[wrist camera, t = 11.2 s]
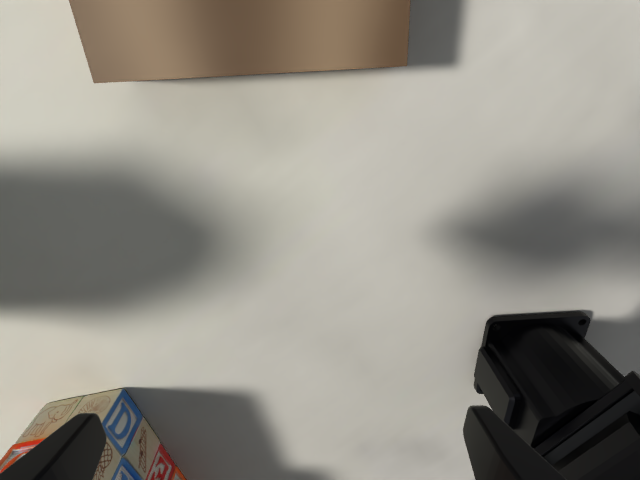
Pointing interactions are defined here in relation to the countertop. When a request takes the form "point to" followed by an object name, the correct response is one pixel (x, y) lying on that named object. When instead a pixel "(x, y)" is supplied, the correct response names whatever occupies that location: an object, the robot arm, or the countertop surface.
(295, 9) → the walnut base
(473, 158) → the countertop surface
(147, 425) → the stack of blocks
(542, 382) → the robot arm
